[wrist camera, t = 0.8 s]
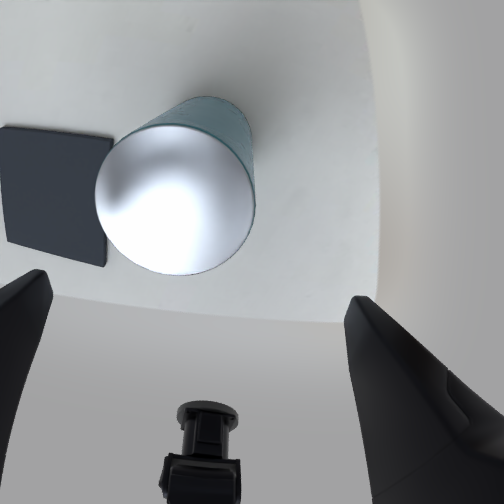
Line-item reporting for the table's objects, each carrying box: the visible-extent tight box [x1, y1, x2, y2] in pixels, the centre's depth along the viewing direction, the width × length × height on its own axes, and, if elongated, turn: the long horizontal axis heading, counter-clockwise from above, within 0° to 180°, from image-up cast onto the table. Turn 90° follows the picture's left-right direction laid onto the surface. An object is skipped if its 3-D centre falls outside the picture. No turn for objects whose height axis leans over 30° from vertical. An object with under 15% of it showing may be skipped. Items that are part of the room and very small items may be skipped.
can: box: [95, 96, 256, 276], centre depth 14 cm, size 6×6×10 cm
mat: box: [0, 127, 113, 267], centre depth 20 cm, size 10×10×1 cm
